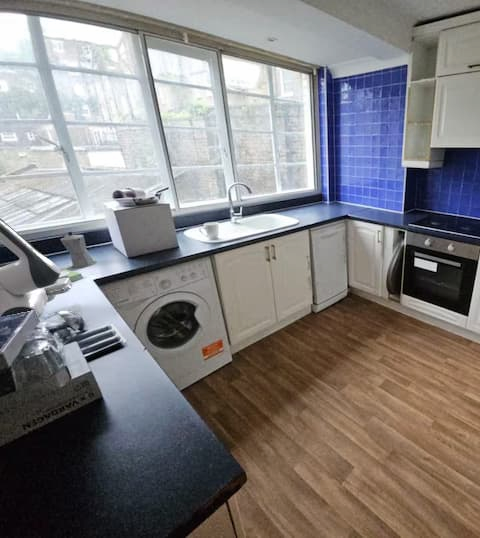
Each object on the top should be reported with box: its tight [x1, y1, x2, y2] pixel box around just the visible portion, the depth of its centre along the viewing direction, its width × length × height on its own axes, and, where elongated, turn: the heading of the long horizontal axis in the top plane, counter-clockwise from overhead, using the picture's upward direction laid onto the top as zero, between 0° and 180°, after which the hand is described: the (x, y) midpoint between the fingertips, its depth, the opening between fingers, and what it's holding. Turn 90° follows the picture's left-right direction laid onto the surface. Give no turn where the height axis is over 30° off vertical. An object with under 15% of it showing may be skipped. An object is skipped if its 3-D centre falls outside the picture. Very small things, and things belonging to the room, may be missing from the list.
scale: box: [58, 268, 83, 283], centre depth 136 cm, size 14×14×3 cm
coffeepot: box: [60, 231, 95, 269], centre depth 153 cm, size 15×9×18 cm, turn 67°
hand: (35, 284), depth 108 cm, fingers closed on can, 7 cm apart
